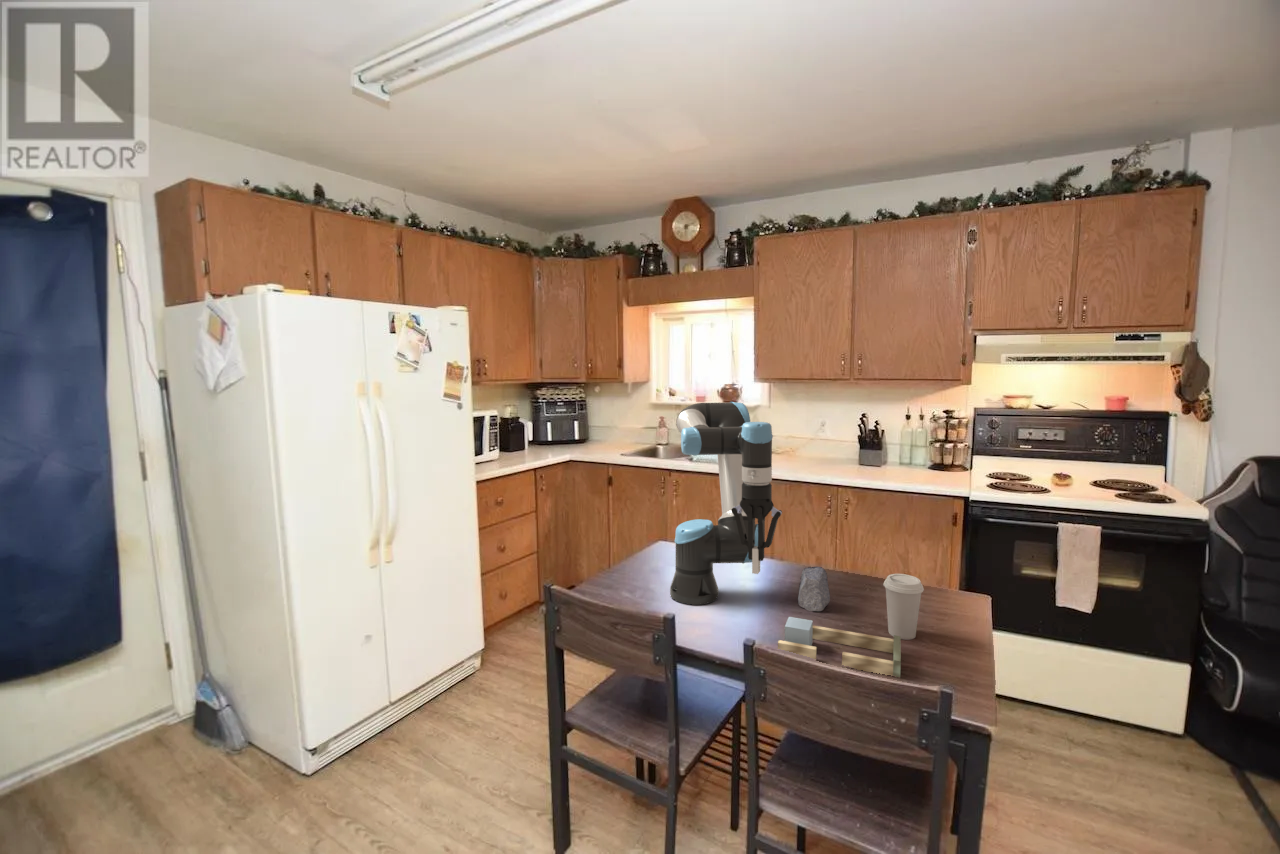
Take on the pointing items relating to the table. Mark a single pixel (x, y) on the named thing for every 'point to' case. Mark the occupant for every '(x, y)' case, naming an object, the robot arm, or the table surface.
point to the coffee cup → (903, 604)
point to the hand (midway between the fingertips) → (756, 571)
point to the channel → (858, 641)
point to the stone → (814, 589)
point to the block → (799, 631)
